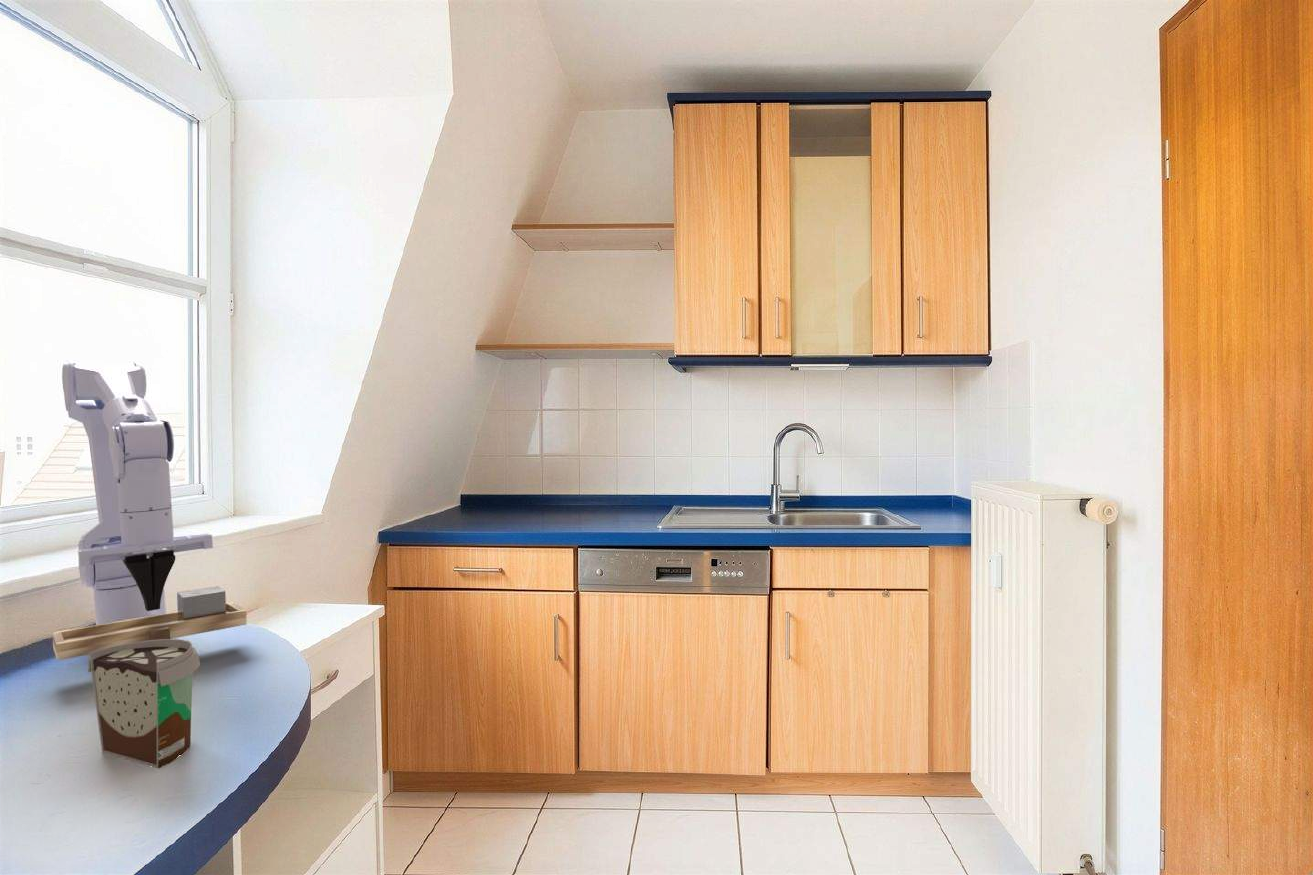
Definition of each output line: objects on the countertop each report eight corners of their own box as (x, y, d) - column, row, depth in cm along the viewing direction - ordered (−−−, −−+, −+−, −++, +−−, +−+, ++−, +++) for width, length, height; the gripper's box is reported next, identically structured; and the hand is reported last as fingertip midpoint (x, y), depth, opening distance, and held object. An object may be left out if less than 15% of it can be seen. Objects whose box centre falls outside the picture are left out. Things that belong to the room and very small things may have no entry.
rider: (183, 626, 93) (183, 597, 93) (177, 620, 97) (177, 592, 97) (226, 619, 97) (225, 591, 97) (218, 613, 100) (218, 586, 100)
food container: (233, 741, 69) (226, 643, 68) (167, 771, 63) (160, 664, 63) (159, 724, 74) (153, 632, 74) (93, 750, 68) (86, 651, 68)
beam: (57, 664, 83) (56, 644, 83) (53, 650, 89) (52, 632, 89) (246, 627, 97) (246, 610, 97) (233, 618, 103) (232, 601, 103)
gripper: (79, 519, 85) (86, 627, 85) (215, 505, 95) (221, 601, 95) (74, 515, 90) (81, 617, 90) (203, 502, 100) (209, 594, 100)
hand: (152, 608), depth 93 cm, fingers closed
